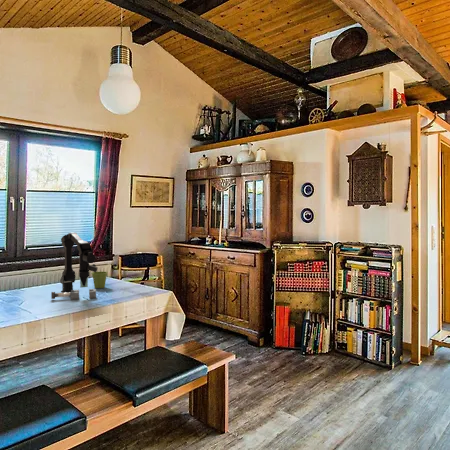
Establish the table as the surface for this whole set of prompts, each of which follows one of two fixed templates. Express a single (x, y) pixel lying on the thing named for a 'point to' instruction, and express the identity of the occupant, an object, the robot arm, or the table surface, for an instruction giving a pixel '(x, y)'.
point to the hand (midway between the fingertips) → (84, 284)
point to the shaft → (60, 295)
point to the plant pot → (99, 279)
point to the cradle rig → (76, 294)
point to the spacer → (85, 284)
